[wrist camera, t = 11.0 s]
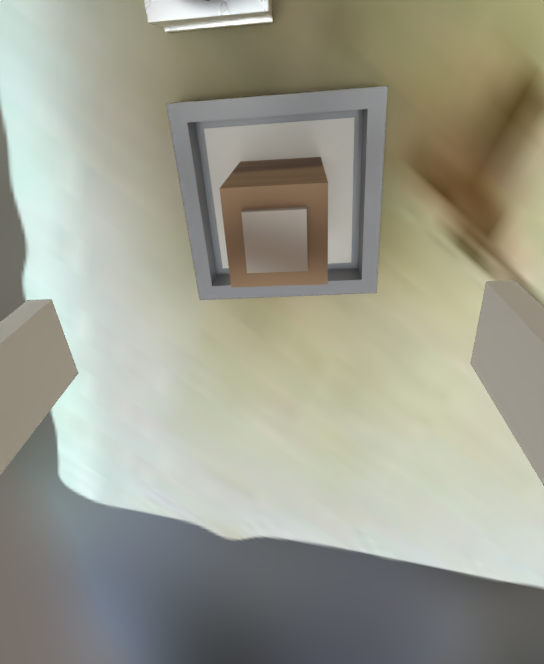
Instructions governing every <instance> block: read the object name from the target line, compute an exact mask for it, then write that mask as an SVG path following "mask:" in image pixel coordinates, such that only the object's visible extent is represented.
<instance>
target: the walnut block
mask: <svg viewBox="0 0 544 664" xmlns="http://www.w3.org/2000/svg"><path fill="white" fill-rule="evenodd" d="M219 190H220V198H221V207H222V215H223V224H224V232H225V241H226V249H227V258H228V266H229V275H230V283H231V287H262V286H292V285H322V284H328V181H327V177H326V174H325V170H324V167H323V163H322V159H321V157H311V158H293V159H276V160H258V161H240V162H239V164H238V165H237V166H236V168H235V169H234V170H233V171H232V173H231V174H230V175H229V177H228V178H227V179H226V180H225V182H224V183H223V184H222V186H221V187H220V188H219Z"/></svg>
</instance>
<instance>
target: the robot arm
mask: <svg viewBox="0 0 544 664" xmlns="http://www.w3.org/2000/svg"><path fill="white" fill-rule="evenodd" d="M470 364H471V365H472V367H473V369H474V370H475V372H476V374H477V375H478V377H479V379H480V380H481V382H482V384H483V385H484V387H485V389H486V390H487V392H488V394H489V395H490V397H491V399H492V400H493V402H494V404H495V405H496V407H497V409H498V410H499V412H500V414H501V415H502V417H503V419H504V420H505V422H506V424H507V425H508V427H509V429H510V430H511V432H512V434H513V435H514V437H515V439H516V440H517V442H518V443H519V445H520V447H521V448H522V450H523V452H524V453H525V455H526V457H527V458H528V460H529V462H530V463H531V465H532V467H533V468H534V470H535V472H536V473H537V475H538V477H539V478H540V480H541V482H542V483H543V485H544V307H543V306H542V305H541V304H540V303H539V302H537V301H536V300H535V299H534V298H533V297H532V296H531V295H530V294H529V293H528V292H527V291H526V290H525V289H523V288H522V287H521V286H520V285H519V284H518V283H517V282H516V281H515V280H514V281H489V282H486V285H485V290H484V295H483V301H482V306H481V311H480V316H479V322H478V327H477V332H476V337H475V342H474V348H473V353H472V358H471V363H470ZM77 374H78V371H77V368H76V365H75V363H74V360H73V357H72V354H71V352H70V349H69V346H68V343H67V341H66V338H65V335H64V332H63V329H62V327H61V324H60V321H59V318H58V316H57V313H56V310H55V307H54V305H53V302H52V299H46V300H27V301H26V302H25V303H24V304H22V305H21V306H20V307H19V308H17V309H16V310H15V311H14V312H12V313H11V314H10V315H9V316H7V317H6V318H5V319H4V320H2V321H1V322H0V474H1V473H2V472H3V471H4V470H5V468H6V467H7V465H8V464H9V463H10V462H11V460H12V459H13V458H14V456H15V455H16V454H17V453H18V451H19V450H20V449H21V447H22V446H23V445H24V443H25V442H26V441H27V440H28V438H29V437H30V436H31V434H32V433H33V432H34V430H35V429H36V428H37V426H38V425H39V424H40V422H41V421H42V420H43V419H44V417H45V416H46V415H47V413H48V412H49V411H50V410H51V408H52V407H53V406H54V404H55V403H56V402H57V400H58V399H59V398H60V396H61V395H62V394H63V393H64V391H65V390H66V389H67V387H68V386H69V385H70V383H71V382H72V381H73V380H74V378H75V377H76V376H77Z"/></svg>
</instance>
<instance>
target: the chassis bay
mask: <svg viewBox="0 0 544 664" xmlns="http://www.w3.org/2000/svg"><path fill="white" fill-rule="evenodd" d="M387 90H388V86H372V87H360V88H347V89H335V90H322V91H310V92H297V93H285V94H272V95H260V96H248V97H235V98H223V99H210V100H198V101H185V102H176V103H169V104H166V105H167V110H168V116H169V122H170V128H171V134H172V140H173V146H174V152H175V157H176V163H177V169H178V175H179V181H180V187H181V193H182V199H183V204H184V210H185V216H186V222H187V228H188V234H189V240H190V246H191V251H192V257H193V263H194V269H195V275H196V281H197V287H198V293H199V298H200V300H215V299H240V298H264V297H289V296H314V295H339V294H364V293H377V275H378V256H379V238H380V219H381V201H382V182H383V164H384V145H385V127H386V108H387ZM311 157H321V159H322V163H323V167H324V170H325V174H326V177H327V181H328V284H322V285H292V286H262V287H231V283H230V275H229V266H228V258H227V249H226V241H225V232H224V224H223V215H222V207H221V198H220V190H219V188H220V187H221V186H222V184H223V183H224V182H225V180H226V179H227V178H228V177H229V175H230V174H231V173H232V171H233V170H234V169H235V168H236V166H237V165H238V164H239V162H240V161H258V160H276V159H293V158H311Z"/></svg>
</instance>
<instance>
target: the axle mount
mask: <svg viewBox="0 0 544 664" xmlns="http://www.w3.org/2000/svg"><path fill="white" fill-rule="evenodd" d="M144 2H145V8H146V13H147V19H148V23H151V24H153V25H156V26H158V27H160V28H163V29H165V32H168V33H172V32H183V31H193V30H204V29H215V28H225V27H236V26H246V25H257V24H268V23H273V12H272V0H144Z"/></svg>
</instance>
